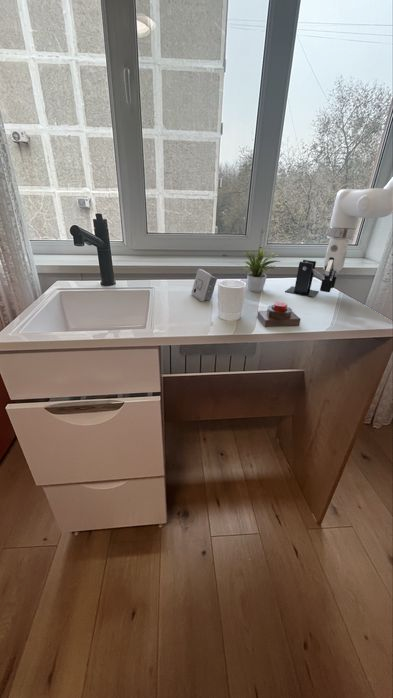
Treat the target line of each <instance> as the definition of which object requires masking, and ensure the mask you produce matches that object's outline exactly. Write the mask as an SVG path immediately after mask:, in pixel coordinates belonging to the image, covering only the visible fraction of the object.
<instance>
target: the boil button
mask: <svg viewBox="0 0 393 698" xmlns="http://www.w3.org/2000/svg"><path fill="white" fill-rule="evenodd" d="M273 305H274V306H273V310H275V311H280V312H283V311H286V309H287V307H288V304H287V303H285V302H283V301H275V302H274V303H273Z"/></svg>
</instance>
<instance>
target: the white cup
mask: <svg viewBox="0 0 393 698" xmlns="http://www.w3.org/2000/svg"><path fill="white" fill-rule="evenodd" d="M246 289H247V283H246V282H244V281H242V280H238V279H223V280H220V281H218V282H217V310H218V311H217V316H218V318H219V319H220V320H224V321H226V322H227V321H229V322H233V321H234V322H235V321H238V320H240V319H241V318H242V312H243V309H244V308H243V307H244V302H245V295H246Z"/></svg>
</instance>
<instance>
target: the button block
mask: <svg viewBox="0 0 393 698" xmlns="http://www.w3.org/2000/svg"><path fill="white" fill-rule="evenodd" d="M273 306H274V304H270V305H269V306H267V309H266V310H258V311H257V315H256V318H257V319H258V321H259V322H260V323H261V325H262V326H263V327H264V328H281V327H282V328H284V327H287V328H288V327H300V324H301V317H299V316H298V315H297V314H296V313H294V312H293V309H292V308H291V307H289V306H287V309H286V311H283V312H280V311H275V310H273Z"/></svg>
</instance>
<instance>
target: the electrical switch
mask: <svg viewBox="0 0 393 698" xmlns="http://www.w3.org/2000/svg"><path fill="white" fill-rule="evenodd" d="M217 280H218V278H217V277H216V276H213V275H212V274H211V273H209V272H207V271H205V270H204V269H202V268H198V269H197V271H196V275H195V279H194V282H193V285H192V289H191V295H192V296H193V297H194V298H196V299H197V300H198V301H200V302H202V303H204V301H211V300H212V296H213V293H214V290H215V287H216V285H217V284H216V283H217Z"/></svg>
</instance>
